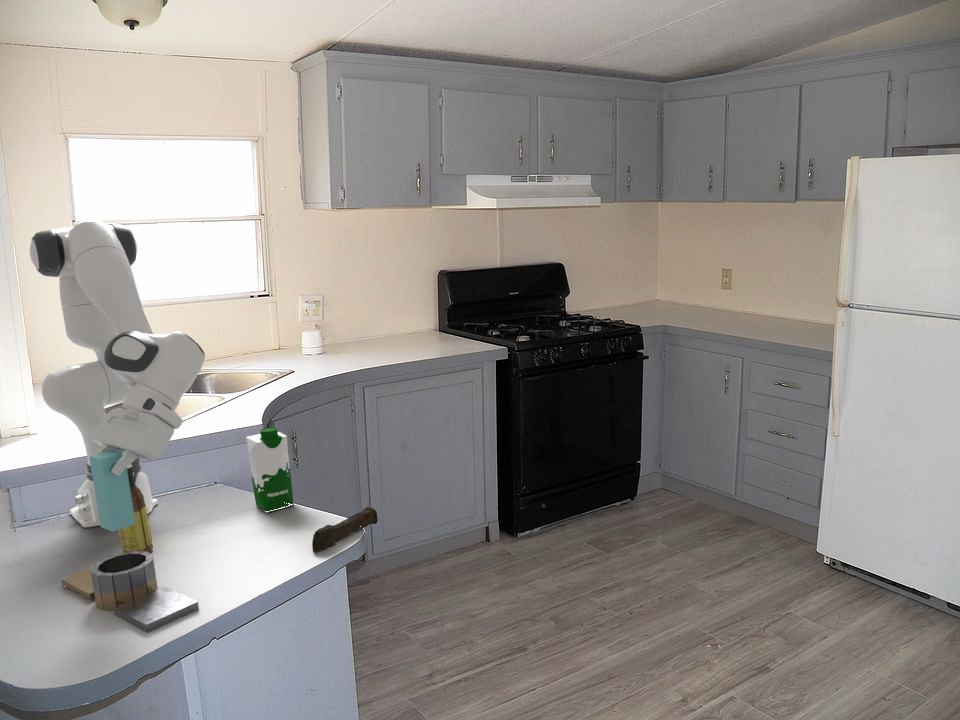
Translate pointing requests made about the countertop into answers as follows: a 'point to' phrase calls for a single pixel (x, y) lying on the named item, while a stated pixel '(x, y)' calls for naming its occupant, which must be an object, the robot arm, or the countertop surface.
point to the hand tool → (342, 529)
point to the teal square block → (111, 492)
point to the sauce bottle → (136, 522)
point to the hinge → (131, 590)
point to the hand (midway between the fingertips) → (106, 471)
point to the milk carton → (270, 469)
